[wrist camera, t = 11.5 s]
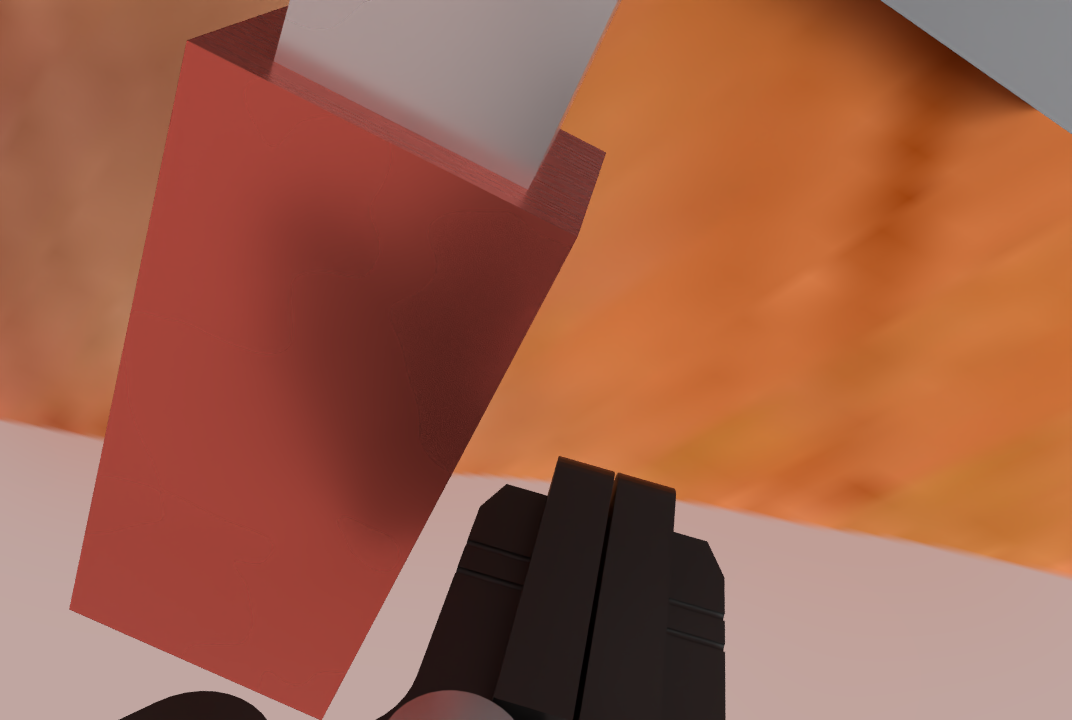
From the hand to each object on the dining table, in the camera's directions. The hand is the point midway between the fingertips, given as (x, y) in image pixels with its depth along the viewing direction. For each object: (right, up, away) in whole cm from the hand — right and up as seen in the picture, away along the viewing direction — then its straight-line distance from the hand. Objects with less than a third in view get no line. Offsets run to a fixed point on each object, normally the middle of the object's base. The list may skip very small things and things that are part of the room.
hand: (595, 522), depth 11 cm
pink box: (-1, +6, -3) cm, 7 cm away
